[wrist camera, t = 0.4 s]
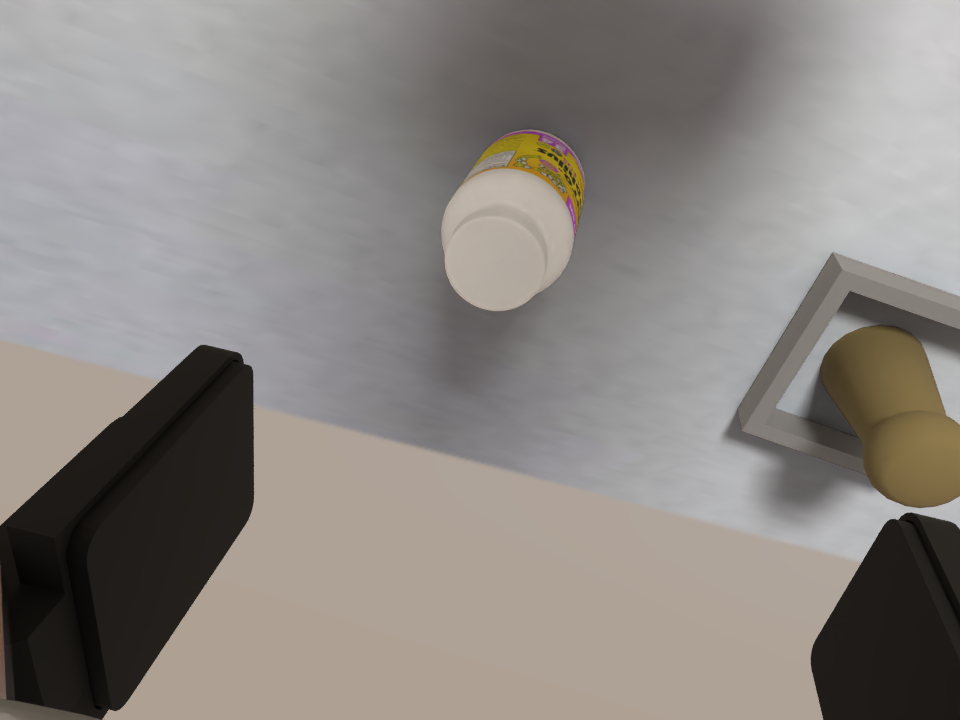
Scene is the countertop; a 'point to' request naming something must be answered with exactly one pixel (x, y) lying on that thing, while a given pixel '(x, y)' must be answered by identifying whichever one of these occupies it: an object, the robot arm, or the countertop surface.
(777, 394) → the frame
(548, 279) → the supplement bottle
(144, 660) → the robot arm
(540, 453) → the countertop surface
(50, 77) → the countertop surface
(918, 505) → the cork
